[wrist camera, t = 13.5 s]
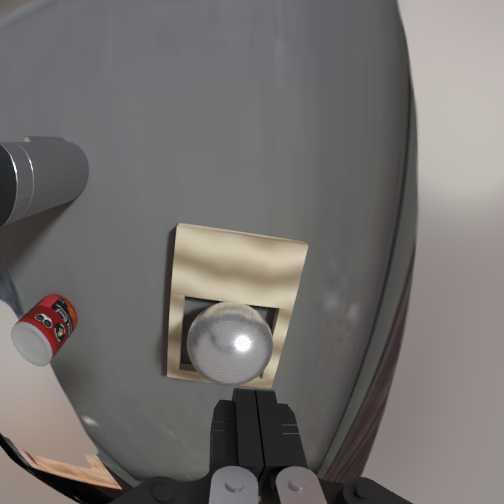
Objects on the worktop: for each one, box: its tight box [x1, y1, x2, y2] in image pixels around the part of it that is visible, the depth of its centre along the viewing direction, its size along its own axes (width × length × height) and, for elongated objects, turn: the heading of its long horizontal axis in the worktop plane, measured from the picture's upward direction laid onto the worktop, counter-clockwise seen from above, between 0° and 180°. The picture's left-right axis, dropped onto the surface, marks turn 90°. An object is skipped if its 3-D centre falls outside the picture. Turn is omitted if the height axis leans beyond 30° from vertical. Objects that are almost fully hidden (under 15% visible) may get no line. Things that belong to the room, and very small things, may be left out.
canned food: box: [11, 294, 77, 366], centre depth 39 cm, size 8×8×11 cm
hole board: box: [167, 223, 308, 388], centre depth 45 cm, size 26×18×2 cm
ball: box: [187, 302, 273, 386], centre depth 41 cm, size 12×12×12 cm
